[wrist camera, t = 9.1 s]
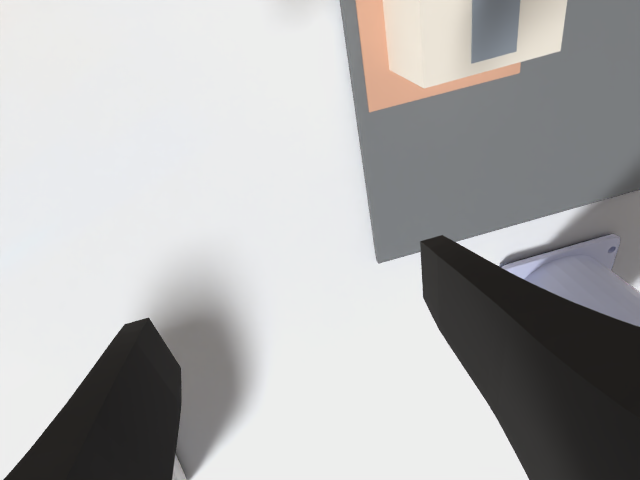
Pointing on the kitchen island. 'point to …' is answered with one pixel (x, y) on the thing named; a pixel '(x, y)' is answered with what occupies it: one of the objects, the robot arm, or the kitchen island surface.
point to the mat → (496, 130)
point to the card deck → (468, 36)
